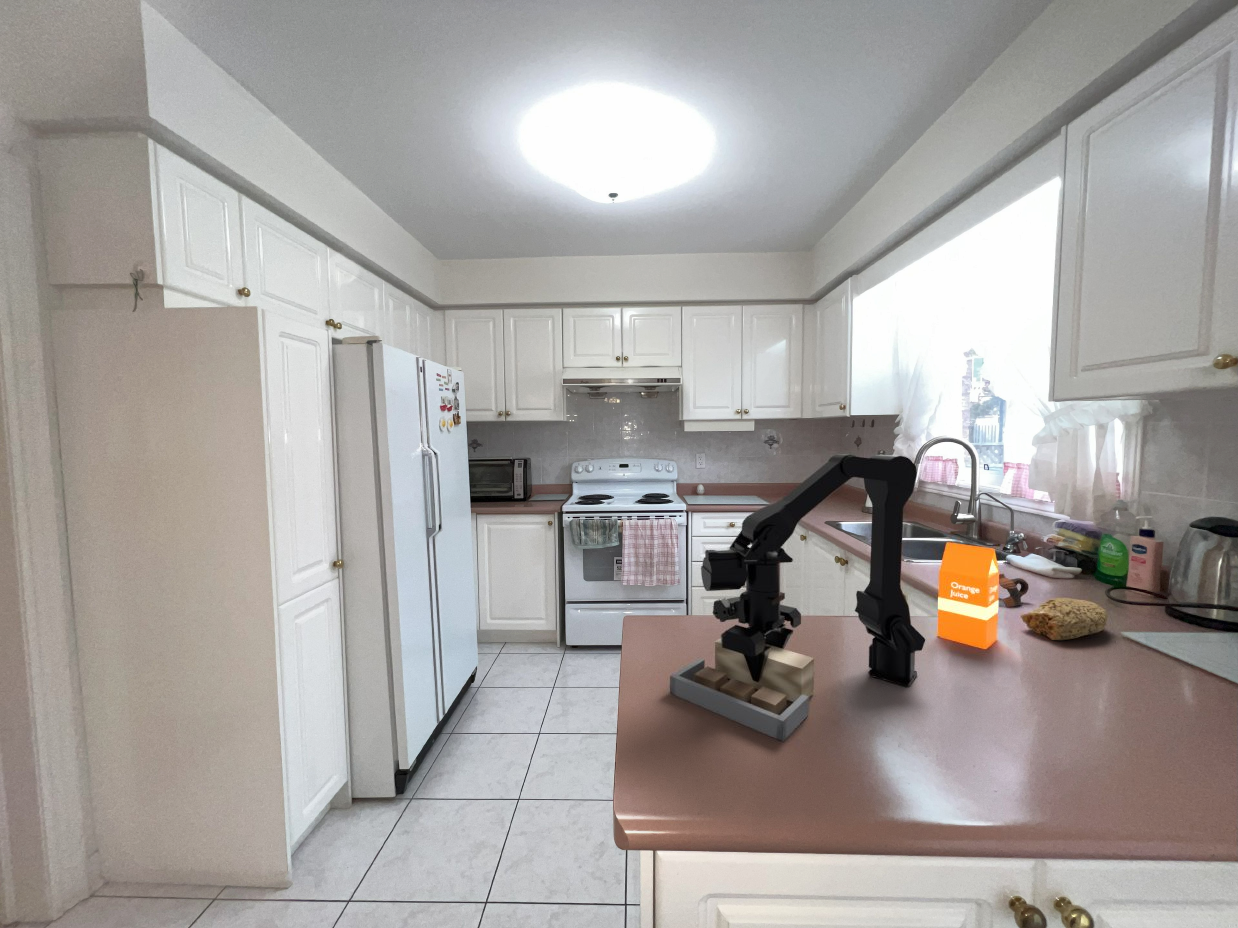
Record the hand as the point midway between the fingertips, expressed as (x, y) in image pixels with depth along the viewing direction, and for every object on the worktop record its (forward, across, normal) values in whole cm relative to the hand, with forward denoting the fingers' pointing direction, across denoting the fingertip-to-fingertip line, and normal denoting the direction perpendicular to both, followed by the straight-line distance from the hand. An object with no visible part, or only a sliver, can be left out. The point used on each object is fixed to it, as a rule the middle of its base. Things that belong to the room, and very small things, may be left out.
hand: (763, 675), depth 87 cm
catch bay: (+2, +9, 0) cm, 10 cm away
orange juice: (+2, -48, +23) cm, 53 cm away
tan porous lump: (+3, -67, +39) cm, 78 cm away
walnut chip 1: (+2, +8, -6) cm, 10 cm away
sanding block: (+1, 0, 0) cm, 1 cm away
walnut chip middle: (+2, +9, 0) cm, 9 cm away
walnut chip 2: (+2, +8, +5) cm, 9 cm away
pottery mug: (+3, -82, +26) cm, 86 cm away
